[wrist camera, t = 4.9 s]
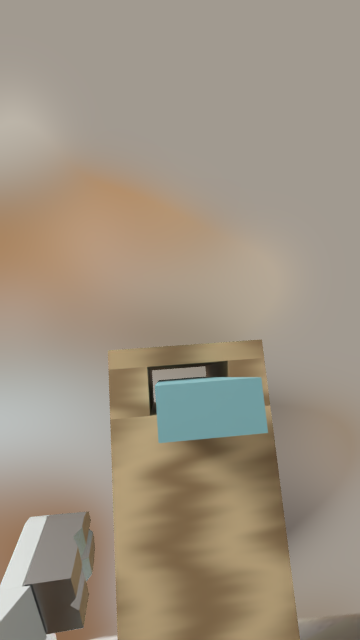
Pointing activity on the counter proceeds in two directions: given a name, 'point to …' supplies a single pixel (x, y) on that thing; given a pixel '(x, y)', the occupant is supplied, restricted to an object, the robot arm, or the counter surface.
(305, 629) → the counter surface
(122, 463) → the oak box
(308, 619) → the counter surface
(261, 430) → the cover plate
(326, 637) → the counter surface
